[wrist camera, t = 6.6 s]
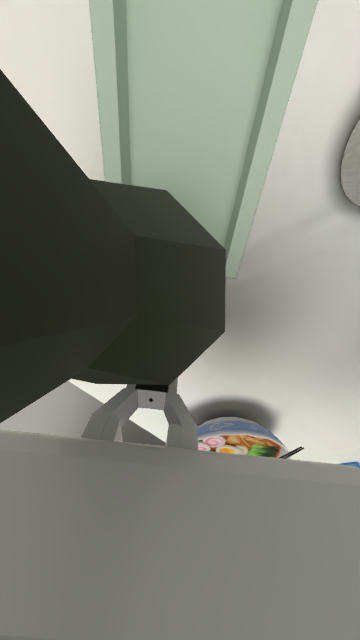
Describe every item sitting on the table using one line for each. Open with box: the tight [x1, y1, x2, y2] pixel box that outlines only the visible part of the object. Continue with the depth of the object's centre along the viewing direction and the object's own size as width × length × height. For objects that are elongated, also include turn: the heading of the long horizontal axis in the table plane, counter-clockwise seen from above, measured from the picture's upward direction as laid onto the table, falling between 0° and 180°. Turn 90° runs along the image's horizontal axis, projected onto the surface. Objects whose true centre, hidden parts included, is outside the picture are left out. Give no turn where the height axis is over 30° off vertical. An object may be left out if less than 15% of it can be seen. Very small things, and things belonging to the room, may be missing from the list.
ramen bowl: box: [197, 417, 304, 459], centre depth 39 cm, size 25×23×8 cm
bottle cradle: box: [89, 0, 318, 279], centre depth 13 cm, size 14×30×4 cm, turn 173°
